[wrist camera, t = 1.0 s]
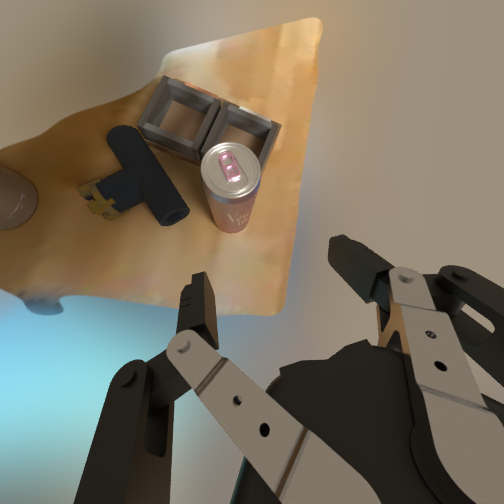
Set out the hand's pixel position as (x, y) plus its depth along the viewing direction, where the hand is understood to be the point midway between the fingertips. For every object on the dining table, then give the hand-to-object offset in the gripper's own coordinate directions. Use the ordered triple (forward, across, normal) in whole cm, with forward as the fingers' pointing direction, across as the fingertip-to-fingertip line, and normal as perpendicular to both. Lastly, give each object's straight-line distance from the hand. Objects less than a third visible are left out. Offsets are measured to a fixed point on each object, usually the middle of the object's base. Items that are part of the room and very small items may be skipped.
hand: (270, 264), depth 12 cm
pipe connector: (+26, +15, 0) cm, 30 cm away
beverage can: (+21, +1, +6) cm, 22 cm away
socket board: (+31, 0, -6) cm, 32 cm away
